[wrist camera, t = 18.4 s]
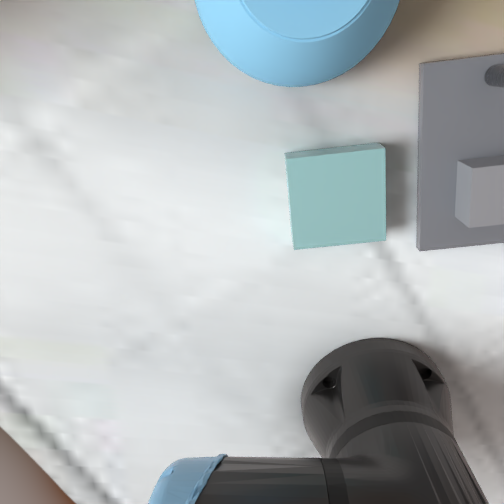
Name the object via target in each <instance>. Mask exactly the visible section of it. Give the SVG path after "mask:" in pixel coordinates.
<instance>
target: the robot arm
mask: <svg viewBox="0 0 504 504" xmlns="http://www.w3.org/2000/svg"><path fill="white" fill-rule="evenodd" d="M301 407H302V414H303V421H304V425H305V428H306V431H307V433H308V436H309V437H310V439H311V441H312V442H313V444H314V446H315V447H316V449H317V451H318V452H319V454H320V455H321V457H322V458H281V457H228V455H227V454H220V455H218V456H217V457H199V458H183V459H180V460H177V461H175V462H173V463H172V464H171V465H169V466H168V467H167V468H166V469H165V471H164V472H163V473H162V475H161V476H160V478H159V480H158V482H157V484H156V486H155V488H154V490H153V493H152V495H151V497H150V500H149V503H148V504H489V503H488V501H487V499H486V497H485V495H484V493H483V491H482V490H481V488H480V486H479V484H478V482H477V480H476V478H475V476H474V474H473V473H472V471H471V469H470V467H469V465H468V463H467V461H466V459H465V457H464V456H463V454H462V452H461V450H460V448H459V446H458V444H457V442H456V440H455V438H454V436H453V423H452V411H451V399H450V394H449V390H448V387H447V384H446V382H445V380H444V378H443V377H442V375H441V373H440V371H439V370H438V368H437V366H436V365H435V363H434V362H433V361H432V360H431V359H430V358H429V357H428V356H427V355H426V354H425V353H424V352H422V351H421V350H419V349H418V348H416V347H414V346H412V345H410V344H407V343H404V342H401V341H397V340H391V339H366V340H360V341H356V342H353V343H349V344H347V345H344V346H342V347H340V348H338V349H336V350H334V351H332V352H331V353H329V354H328V355H327V356H325V357H324V358H323V359H322V360H320V361H319V362H318V363H317V364H316V366H315V367H314V368H313V369H312V371H311V372H310V373H309V375H308V377H307V379H306V381H305V383H304V386H303V390H302V395H301Z"/></svg>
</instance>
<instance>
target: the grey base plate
mask: <svg viewBox="0 0 504 504" xmlns="http://www.w3.org/2000/svg"><path fill="white" fill-rule="evenodd" d="M492 65H504V53H501V54H493V55H484V56H476V57H468V58H460V59H452V60H444V61H436V62H428V63H420V68H419V126H418V185H417V244H416V247H417V248H418V250H419V251H427V250H437V249H446V248H456V247H466V246H475V245H485V244H495V243H504V88H502V87H494V86H489V85H488V84H487V83H486V82H485V73H486V71H487V69H488V68H489V67H491V66H492Z"/></svg>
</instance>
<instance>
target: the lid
mask: <svg viewBox="0 0 504 504" xmlns="http://www.w3.org/2000/svg"><path fill="white" fill-rule="evenodd" d="M285 164H286V176H287V187H288V199H289V210H290V222H291V233H292V242H293V247H294V250H297V249H307V248H317V247H327V246H336V245H346V244H356V243H366V242H376V241H386V159H385V147H383V146H382V145H380V144H379V143H371V144H362V145H353V146H344V147H335V148H326V149H317V150H308V151H299V152H290V153H285Z"/></svg>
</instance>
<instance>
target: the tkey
mask: <svg viewBox="0 0 504 504" xmlns="http://www.w3.org/2000/svg"><path fill="white" fill-rule="evenodd" d="M485 82H486V83H487V84H488V85H489V86H494V87H502V88H504V65H492V66H491V67H489V68H488V69H487V71H486V73H485Z"/></svg>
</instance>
